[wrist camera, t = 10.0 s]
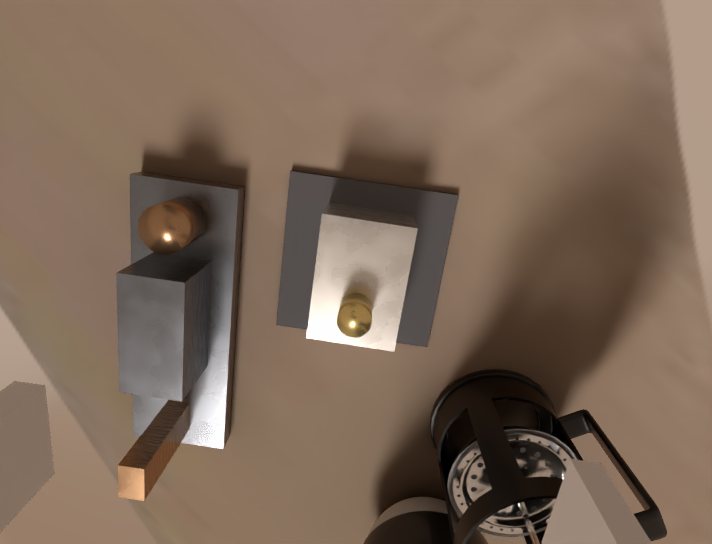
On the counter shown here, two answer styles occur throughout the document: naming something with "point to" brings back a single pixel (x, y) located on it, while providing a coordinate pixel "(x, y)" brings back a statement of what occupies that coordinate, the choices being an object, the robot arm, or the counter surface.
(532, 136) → the counter surface
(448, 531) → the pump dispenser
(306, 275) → the mat
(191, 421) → the grey stand
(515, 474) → the french press
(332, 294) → the white box with knob
